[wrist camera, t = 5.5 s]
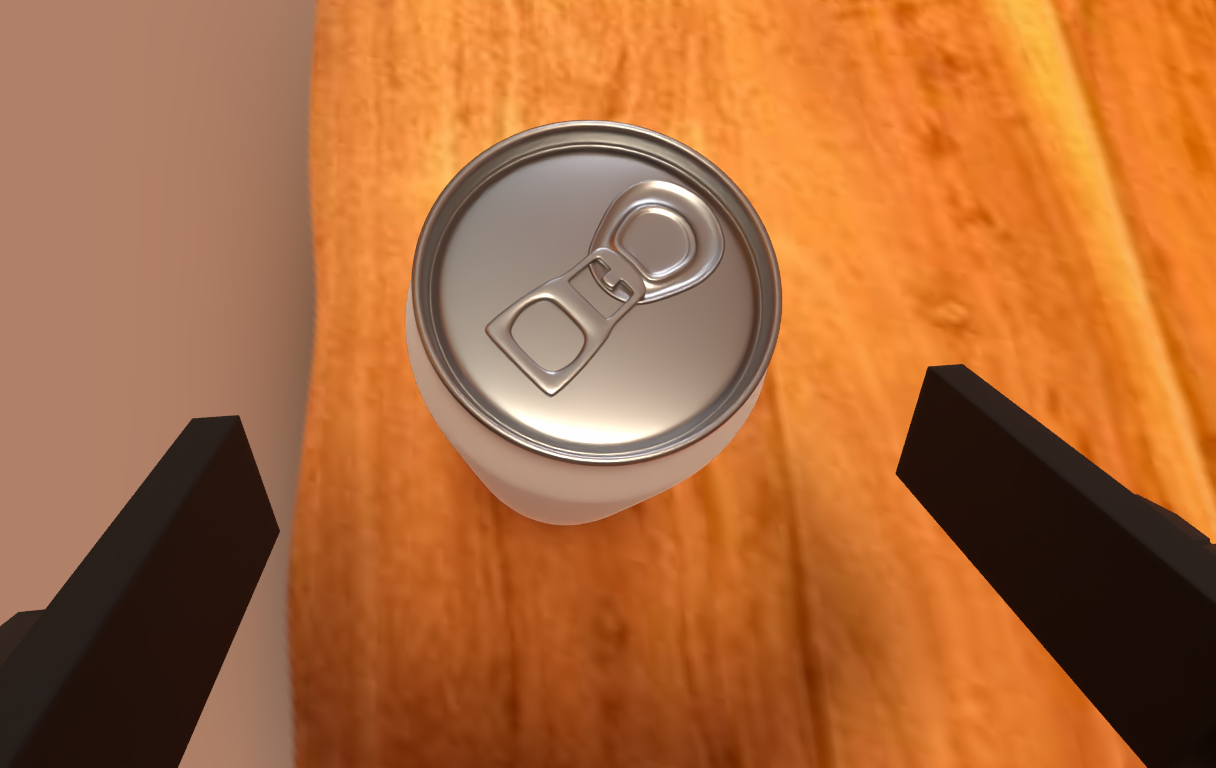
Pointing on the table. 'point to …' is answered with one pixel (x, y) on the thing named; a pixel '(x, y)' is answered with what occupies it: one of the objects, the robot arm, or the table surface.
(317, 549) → the table surface
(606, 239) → the can
